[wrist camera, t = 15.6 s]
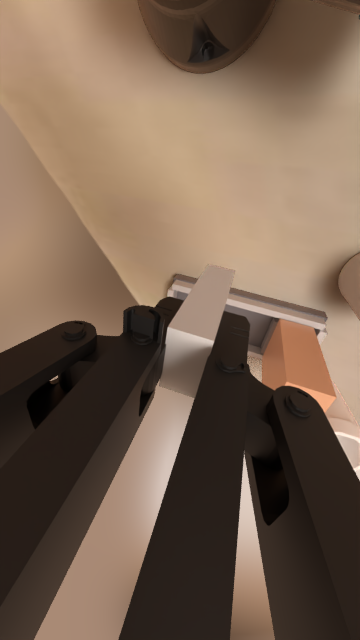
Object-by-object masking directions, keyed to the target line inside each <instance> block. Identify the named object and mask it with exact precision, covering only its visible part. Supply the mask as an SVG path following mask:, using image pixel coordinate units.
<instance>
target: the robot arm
mask: <svg viewBox="0 0 360 640" xmlns="http://www.w3.org/2000/svg"><path fill="white" fill-rule="evenodd" d="M311 1H315V2H318V3H321V4H325V5H328V6H332V7H335V8H339V9H342V10H345V11H349V12H352V13H356V14H359V19H360V0H311ZM275 3H276V0H138V4H139V8H140V11H141V14H142V17H143V20H144V22H145V25H146V27H147V29H148V31H149V33H150V35H151V37H152V38H153V40H154V42H155V43H156V44H157V46H158V47H159V48H160V50H161V51H162V52H163V53H164V55H165V56H166V57H167V58H168V59H169V60H170V61H171V62H172V63H174V64H175V65H176V66H178V67H180V68H181V69H183V70H186V71H189V72H193V73H209V72H213V71H216V70H219V69H221V68H224V67H225V66H227V65H229V64H230V63H232V62H233V61H235V60H236V59H237V58H238V57H240V56H241V55H242V54H243V53H244V52H245V51H246V50H247V49H248V48H249V47H250V45H251V44H252V43H253V42H254V40H255V39H256V38H257V36H258V35H259V33H260V32H261V30H262V29H263V27H264V25H265V24H266V22H267V20H268V18H269V16H270V14H271V12H272V10H273V8H274V5H275ZM234 274H235V270H231V269H227V268H223V267H219V266H215V265H211V264H208V265H207V266H206V268H205V269H204V271H203V273H202V274H201V276H200V277H199V279H198V280H197V282H196V283H195V285H194V287H193V288H192V290H191V291H190V293H189V294H188V296H187V298H186V299H185V301H184V300H180V299H177V298H173V297H170V296H169V297H166V298H164V299H162V300H160V301H159V303H158V304H157V305H156V307H154V308H153V307H150V306H144V305H141V306H133V307H129V308H128V309H126V310H124V317H123V319H124V320H123V333H122V334H121V335H120V336H103V335H97V333H96V329H95V327H94V326H93V325H91V324H90V323H87V322H85V321H69V322H65V323H62V324H59V325H57V326H55V327H53V328H51V329H49V330H47V331H45V332H43V333H41V334H39V335H37V336H35V337H33V338H31V339H28V340H27V341H24V342H22V343H20V344H18V345H16V346H14V347H12V348H10V349H8V350H6V351H4V352H2V353H0V640H34V638H35V636H36V634H37V632H38V630H39V628H40V626H41V624H42V622H43V620H44V618H45V616H46V614H47V612H48V610H49V608H50V605H51V604H52V602H53V600H54V598H55V596H56V594H57V592H58V589H59V588H60V586H61V583H62V581H63V579H64V577H65V575H66V573H67V571H68V569H69V567H70V565H71V563H72V561H73V559H74V557H75V555H76V553H77V551H78V549H79V547H80V545H81V543H82V541H83V539H84V537H85V535H86V533H87V531H88V529H89V527H90V525H91V523H92V521H93V519H94V517H95V515H96V513H97V510H98V509H99V507H100V505H101V503H102V501H103V499H104V497H105V495H106V493H107V491H108V488H109V487H110V484H111V482H112V480H113V478H114V476H115V474H116V472H117V470H118V468H119V466H120V464H121V462H122V460H123V458H124V456H125V454H126V452H127V450H128V448H129V446H130V444H131V442H132V440H133V438H134V436H135V434H136V432H137V430H138V428H139V426H140V424H141V422H142V420H143V418H144V416H145V414H146V412H147V410H148V408H149V406H150V404H151V401H152V400H153V398H154V394H155V387H156V385H157V383H158V381H159V379H160V383H159V386H161V387H164V388H167V389H170V390H173V391H175V392H178V393H181V394H184V395H187V396H190V397H193V398H195V399H194V402H193V406H192V409H191V412H190V415H189V419H188V421H187V425H186V428H185V431H184V434H183V437H182V440H181V444H180V447H179V450H178V453H177V456H176V459H175V463H174V466H173V469H172V472H171V475H170V478H169V481H168V485H167V488H166V491H165V494H164V497H163V500H162V504H161V507H160V510H159V513H158V516H157V519H156V523H155V526H154V529H153V532H152V535H151V539H150V542H149V545H148V548H147V551H146V554H145V557H144V561H143V564H142V567H141V570H140V573H139V576H138V580H137V583H136V586H135V589H134V592H133V595H132V599H131V602H130V605H129V608H128V611H127V614H126V618H125V621H124V624H123V627H122V630H121V633H120V636H119V640H230V629H231V616H232V602H233V589H234V576H235V563H236V562H235V561H236V549H237V536H238V522H239V510H240V496H241V484H242V471H243V458H244V454H245V459H246V466H247V472H248V478H249V484H250V490H251V496H252V502H253V508H254V514H255V521H256V527H257V532H258V539H259V544H260V550H261V557H262V563H263V569H264V575H265V581H266V587H267V593H268V599H269V605H270V611H271V617H272V623H273V630H274V636H275V640H360V481H359V479H358V477H357V475H356V473H355V471H354V469H353V467H352V465H351V463H350V461H349V460H348V458H347V456H346V454H345V452H344V450H343V448H342V446H341V444H340V442H339V440H338V438H337V436H336V434H335V432H334V430H333V428H332V426H331V425H330V423H329V421H328V419H327V417H326V415H325V413H324V411H323V409H322V407H321V406H320V405H319V403H318V402H317V400H315V399H314V398H313V397H312V396H311V395H310V394H308V393H307V392H305V391H303V390H301V389H300V388H296V387H293V386H280V387H278V388H276V390H273V389H271V388H269V387H268V386H266V385H264V384H263V383H261V382H260V381H258V380H257V379H256V378H255V377H254V376H253V375H252V374H251V372H250V369H249V365H248V364H247V355H248V344H249V332H250V323H249V321H248V319H247V318H246V317H245V316H241V315H237V314H234V313H230V312H227V311H224V308H225V305H226V301H227V298H228V295H229V291H230V288H231V284H232V281H233V277H234ZM57 375H58V378H57V379H55V380H52V381H50V380H51V379H53V378H54V377H56V376H57Z"/></svg>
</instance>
